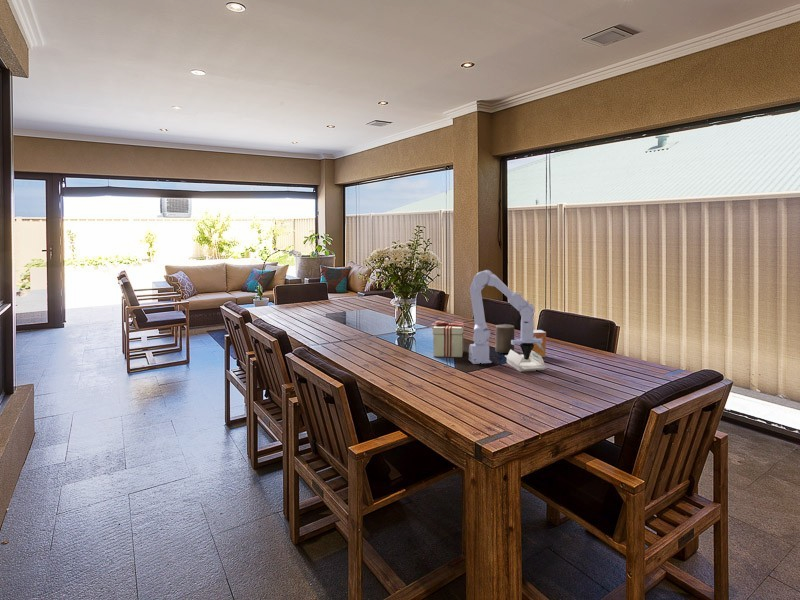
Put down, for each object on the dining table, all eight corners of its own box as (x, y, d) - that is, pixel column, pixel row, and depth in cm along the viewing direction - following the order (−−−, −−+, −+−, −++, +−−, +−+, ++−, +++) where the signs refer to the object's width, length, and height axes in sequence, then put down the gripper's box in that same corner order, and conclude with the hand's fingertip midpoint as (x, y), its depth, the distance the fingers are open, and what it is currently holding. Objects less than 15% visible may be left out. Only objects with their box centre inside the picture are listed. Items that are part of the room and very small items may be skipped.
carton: (523, 374, 207) (523, 368, 207) (503, 360, 230) (503, 355, 229) (548, 372, 209) (548, 367, 209) (526, 359, 232) (526, 354, 231)
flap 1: (518, 366, 211) (518, 365, 211) (507, 358, 225) (506, 357, 225) (523, 356, 211) (522, 356, 211) (510, 349, 225) (510, 349, 225)
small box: (530, 358, 232) (530, 332, 231) (525, 355, 239) (525, 330, 237) (545, 357, 233) (546, 332, 232) (540, 354, 240) (540, 329, 238)
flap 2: (540, 356, 212) (541, 355, 212) (527, 348, 226) (528, 348, 226) (544, 364, 213) (544, 364, 213) (530, 356, 227) (531, 356, 227)
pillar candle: (515, 353, 242) (516, 325, 240) (496, 353, 242) (497, 325, 240) (511, 349, 252) (512, 321, 250) (493, 349, 252) (494, 321, 250)
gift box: (463, 349, 254) (463, 317, 251) (464, 358, 235) (464, 324, 233) (431, 348, 255) (431, 317, 253) (430, 357, 237) (430, 324, 235)
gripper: (515, 332, 212) (514, 362, 214) (545, 331, 214) (544, 360, 216) (509, 329, 219) (509, 358, 221) (538, 328, 221) (538, 356, 223)
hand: (526, 359), depth 219 cm, fingers closed
